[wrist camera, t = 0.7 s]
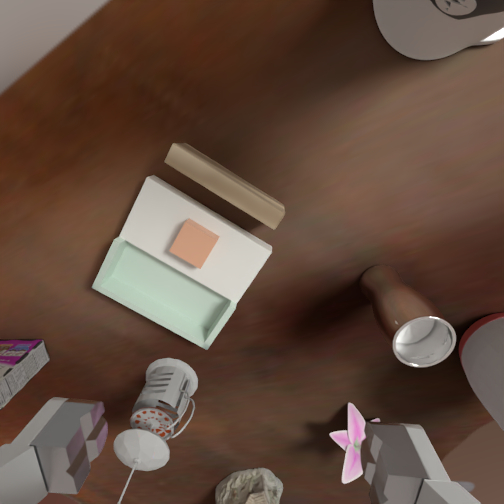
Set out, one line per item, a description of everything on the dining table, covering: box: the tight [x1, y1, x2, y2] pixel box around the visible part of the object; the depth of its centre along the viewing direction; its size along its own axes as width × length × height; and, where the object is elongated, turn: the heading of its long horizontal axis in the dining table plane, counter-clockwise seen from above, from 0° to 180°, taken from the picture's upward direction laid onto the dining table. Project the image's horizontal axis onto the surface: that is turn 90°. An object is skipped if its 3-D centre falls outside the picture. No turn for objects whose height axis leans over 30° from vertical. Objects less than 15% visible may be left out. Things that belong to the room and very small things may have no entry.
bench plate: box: [119, 175, 272, 304], centre depth 46 cm, size 10×20×2 cm, turn 59°
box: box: [92, 237, 237, 350], centre depth 48 cm, size 9×20×4 cm, turn 59°
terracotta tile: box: [169, 218, 220, 269], centre depth 43 cm, size 5×5×2 cm
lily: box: [329, 403, 380, 483], centre depth 54 cm, size 12×12×10 cm
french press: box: [114, 358, 198, 504], centre depth 45 cm, size 10×12×25 cm
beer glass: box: [360, 265, 456, 367], centre depth 40 cm, size 7×7×15 cm
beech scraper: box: [164, 143, 285, 230], centre depth 41 cm, size 2×16×6 cm, turn 59°
